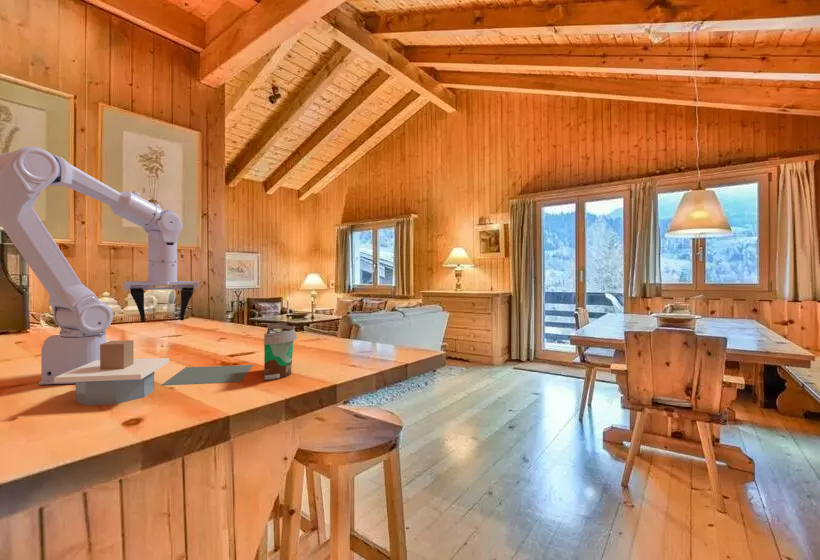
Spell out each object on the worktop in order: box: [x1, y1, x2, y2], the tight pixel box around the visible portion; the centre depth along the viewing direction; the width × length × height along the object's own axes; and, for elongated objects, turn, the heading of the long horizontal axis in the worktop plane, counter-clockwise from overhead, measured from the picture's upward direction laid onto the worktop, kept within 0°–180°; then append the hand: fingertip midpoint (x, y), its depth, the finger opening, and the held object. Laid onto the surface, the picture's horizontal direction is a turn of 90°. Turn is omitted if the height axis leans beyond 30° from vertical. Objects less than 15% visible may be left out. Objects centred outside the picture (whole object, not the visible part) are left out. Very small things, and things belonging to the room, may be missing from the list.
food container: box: [263, 324, 298, 382], centre depth 84 cm, size 12×6×10 cm, turn 16°
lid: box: [54, 339, 170, 383], centre depth 69 cm, size 12×12×5 cm
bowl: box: [75, 371, 155, 407], centre depth 69 cm, size 10×10×4 cm
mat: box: [161, 364, 254, 386], centre depth 83 cm, size 14×14×1 cm
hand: (162, 320), depth 94 cm, fingers open, 7 cm apart
